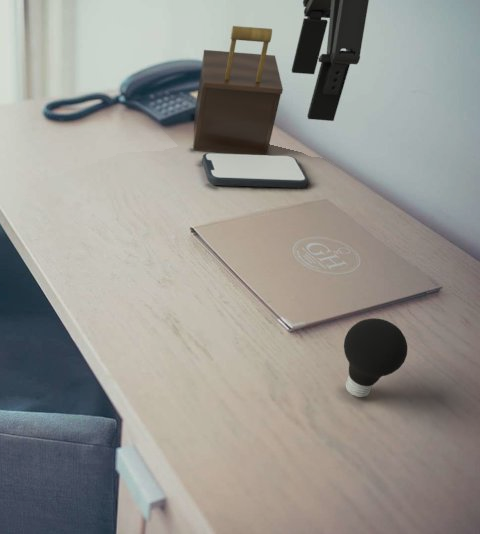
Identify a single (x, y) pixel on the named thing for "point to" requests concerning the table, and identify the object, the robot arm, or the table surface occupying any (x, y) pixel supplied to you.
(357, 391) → the light bulb
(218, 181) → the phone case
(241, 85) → the lid
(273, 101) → the chest
